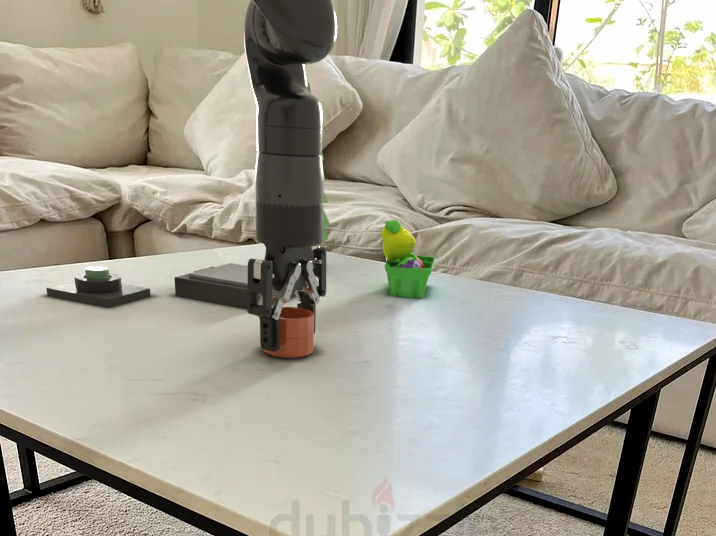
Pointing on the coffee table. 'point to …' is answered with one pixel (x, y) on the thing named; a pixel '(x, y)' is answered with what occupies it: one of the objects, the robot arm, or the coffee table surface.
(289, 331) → the terracotta cup
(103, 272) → the button
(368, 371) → the coffee table surface
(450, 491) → the coffee table surface
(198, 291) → the scale
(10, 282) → the coffee table surface
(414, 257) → the fruit basket
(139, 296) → the dark grey button base
